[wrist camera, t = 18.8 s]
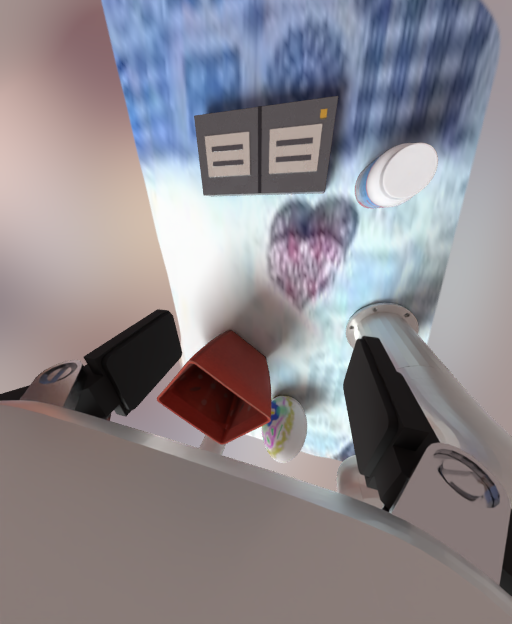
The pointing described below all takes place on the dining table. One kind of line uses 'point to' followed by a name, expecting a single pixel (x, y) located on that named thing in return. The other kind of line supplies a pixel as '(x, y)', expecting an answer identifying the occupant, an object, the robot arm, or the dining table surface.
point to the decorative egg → (285, 429)
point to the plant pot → (222, 389)
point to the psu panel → (266, 148)
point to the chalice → (212, 445)
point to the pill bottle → (396, 175)
